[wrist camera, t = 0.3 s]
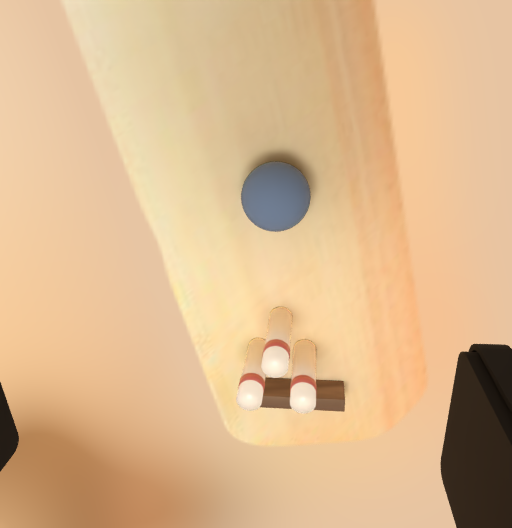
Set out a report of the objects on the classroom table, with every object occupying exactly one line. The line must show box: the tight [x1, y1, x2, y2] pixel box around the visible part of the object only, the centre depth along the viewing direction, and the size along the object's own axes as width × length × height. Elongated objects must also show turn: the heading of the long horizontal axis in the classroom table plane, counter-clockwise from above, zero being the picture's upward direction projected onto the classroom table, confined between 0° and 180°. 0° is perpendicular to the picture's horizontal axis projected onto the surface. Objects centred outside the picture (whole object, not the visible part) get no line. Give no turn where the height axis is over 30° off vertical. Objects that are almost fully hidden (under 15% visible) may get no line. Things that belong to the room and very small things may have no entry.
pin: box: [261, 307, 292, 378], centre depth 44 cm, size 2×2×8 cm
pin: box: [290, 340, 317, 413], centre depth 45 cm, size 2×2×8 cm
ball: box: [241, 162, 310, 232], centre depth 39 cm, size 6×6×6 cm
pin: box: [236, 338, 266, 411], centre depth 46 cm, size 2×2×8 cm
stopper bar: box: [260, 378, 345, 411], centre depth 50 cm, size 2×10×3 cm, turn 93°
